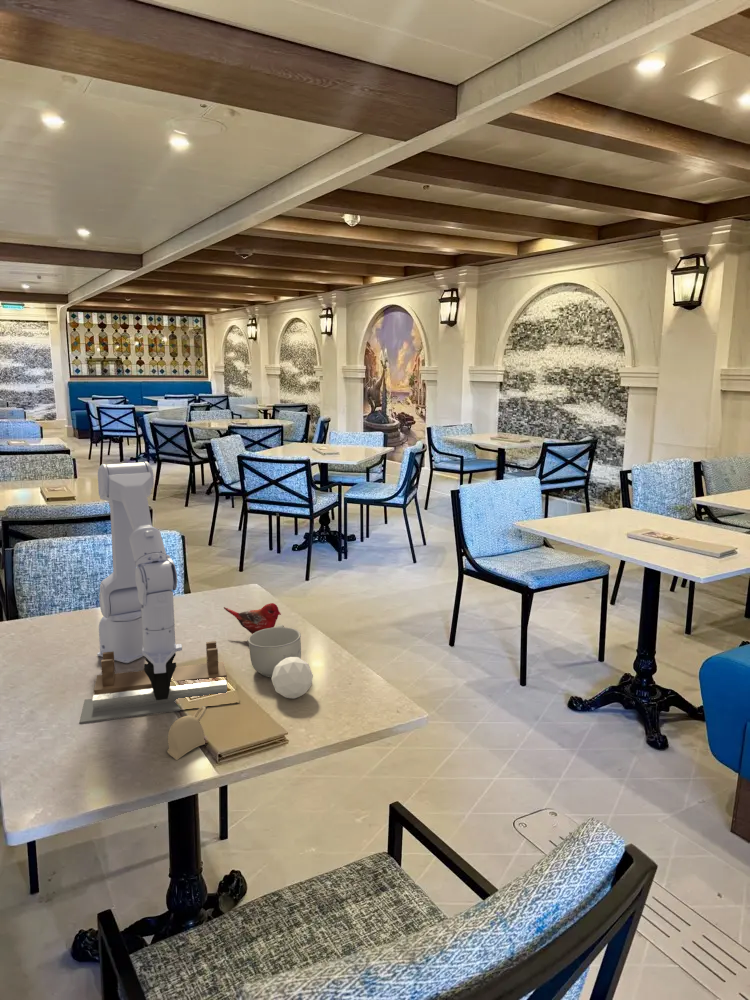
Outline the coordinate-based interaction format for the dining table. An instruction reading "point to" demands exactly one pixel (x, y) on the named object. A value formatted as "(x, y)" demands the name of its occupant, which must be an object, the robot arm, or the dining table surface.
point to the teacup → (273, 647)
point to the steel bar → (148, 696)
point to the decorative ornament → (186, 734)
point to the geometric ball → (292, 677)
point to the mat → (124, 711)
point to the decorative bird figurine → (257, 617)
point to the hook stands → (140, 680)
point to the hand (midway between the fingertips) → (161, 694)
